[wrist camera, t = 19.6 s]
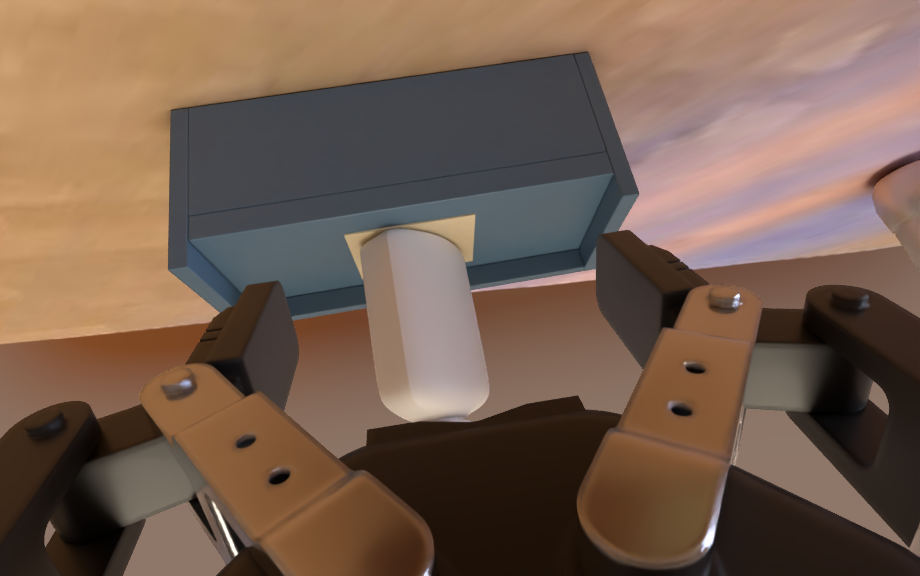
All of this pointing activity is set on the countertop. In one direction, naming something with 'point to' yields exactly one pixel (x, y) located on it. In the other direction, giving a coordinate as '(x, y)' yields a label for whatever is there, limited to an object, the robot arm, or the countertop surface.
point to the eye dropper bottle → (423, 327)
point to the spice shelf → (396, 180)
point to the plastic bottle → (901, 207)
